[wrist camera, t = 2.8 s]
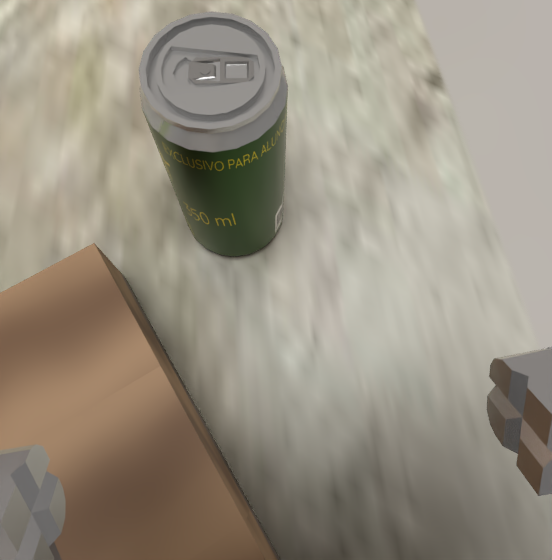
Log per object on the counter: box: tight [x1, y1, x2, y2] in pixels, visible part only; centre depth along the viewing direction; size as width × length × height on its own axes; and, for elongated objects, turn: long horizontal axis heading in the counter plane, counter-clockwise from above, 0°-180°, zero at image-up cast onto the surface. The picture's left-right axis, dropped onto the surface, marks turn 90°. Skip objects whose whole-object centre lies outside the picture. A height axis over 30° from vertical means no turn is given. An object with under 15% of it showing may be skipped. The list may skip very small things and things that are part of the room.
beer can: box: [139, 12, 288, 256], centre depth 23 cm, size 5×5×12 cm
